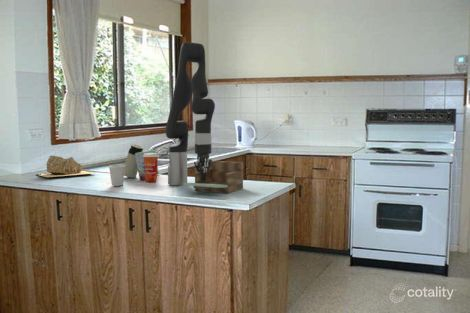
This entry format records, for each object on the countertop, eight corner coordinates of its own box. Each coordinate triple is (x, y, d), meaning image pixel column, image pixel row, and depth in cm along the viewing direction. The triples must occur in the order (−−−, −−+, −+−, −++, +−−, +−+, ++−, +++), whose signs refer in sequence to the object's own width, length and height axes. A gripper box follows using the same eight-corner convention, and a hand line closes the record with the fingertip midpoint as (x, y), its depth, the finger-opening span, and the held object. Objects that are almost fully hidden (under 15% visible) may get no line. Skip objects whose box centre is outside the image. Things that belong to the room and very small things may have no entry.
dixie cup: (105, 185, 258) (105, 165, 257) (116, 183, 265) (116, 164, 264) (118, 186, 254) (117, 166, 253) (129, 184, 261) (128, 165, 260)
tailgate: (193, 187, 239) (182, 187, 229) (194, 182, 239) (182, 182, 229) (227, 189, 231) (217, 189, 222) (228, 185, 231) (217, 185, 222)
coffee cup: (140, 181, 270) (140, 154, 269) (147, 179, 278) (147, 152, 276) (154, 182, 268) (154, 154, 266) (161, 180, 275) (161, 153, 274)
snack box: (149, 178, 275) (143, 151, 274) (139, 180, 276) (133, 153, 275) (159, 173, 296) (154, 148, 295) (150, 175, 297) (145, 150, 296)
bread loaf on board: (46, 176, 280) (41, 151, 286) (38, 192, 296) (33, 168, 301) (95, 172, 296) (89, 148, 302) (85, 188, 312) (80, 164, 318)
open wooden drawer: (194, 190, 240) (194, 163, 239) (210, 186, 254) (210, 160, 253) (228, 193, 232) (228, 165, 231) (242, 188, 247) (243, 162, 245)
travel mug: (130, 178, 280) (139, 148, 277) (119, 173, 282) (127, 143, 280) (138, 177, 287) (147, 148, 285) (126, 173, 290) (135, 143, 287)
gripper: (202, 141, 234) (202, 178, 236) (188, 143, 222) (188, 182, 224) (217, 142, 231) (217, 179, 233) (203, 144, 219) (203, 183, 221)
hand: (203, 180), depth 228 cm, fingers closed
